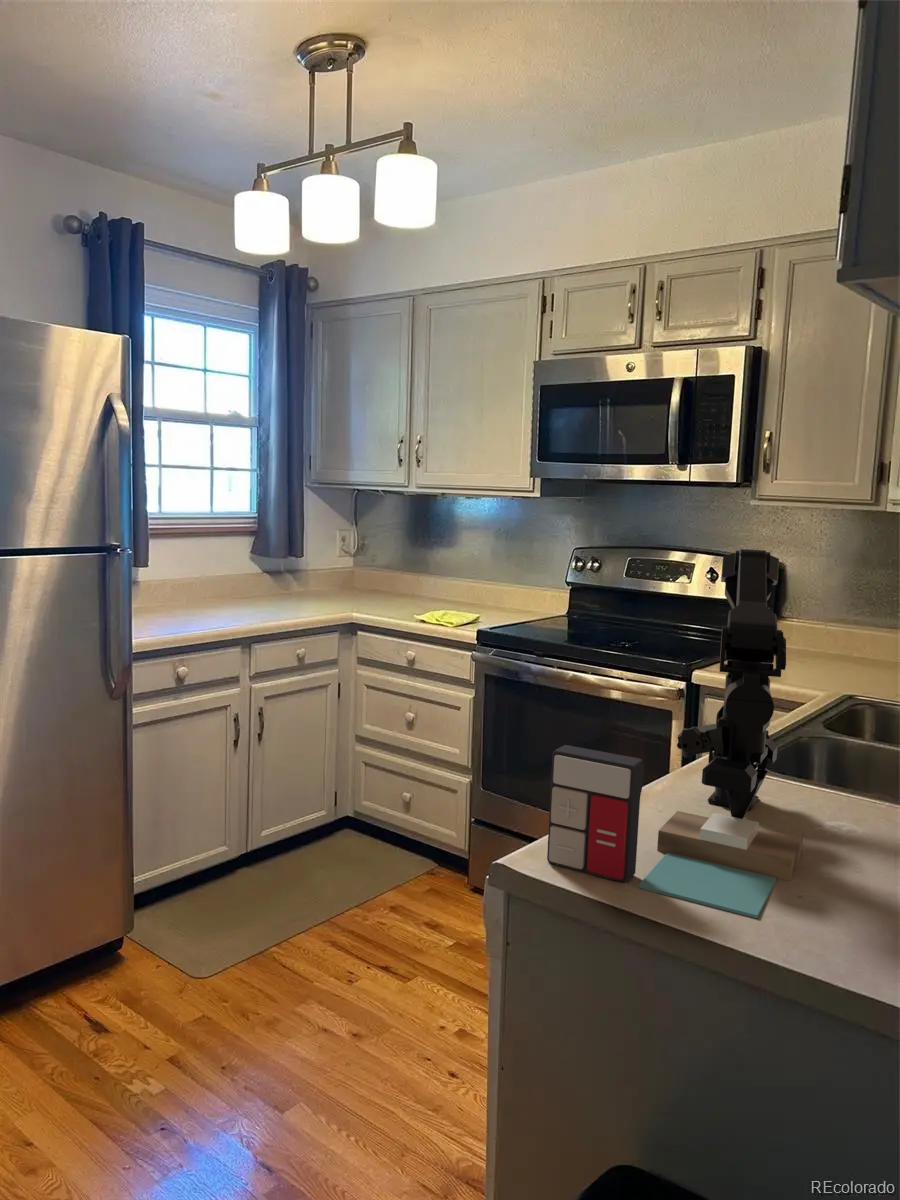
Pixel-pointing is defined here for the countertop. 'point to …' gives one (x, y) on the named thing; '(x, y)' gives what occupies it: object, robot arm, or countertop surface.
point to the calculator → (594, 812)
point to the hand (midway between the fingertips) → (736, 822)
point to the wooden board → (762, 856)
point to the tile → (729, 831)
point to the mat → (710, 884)
